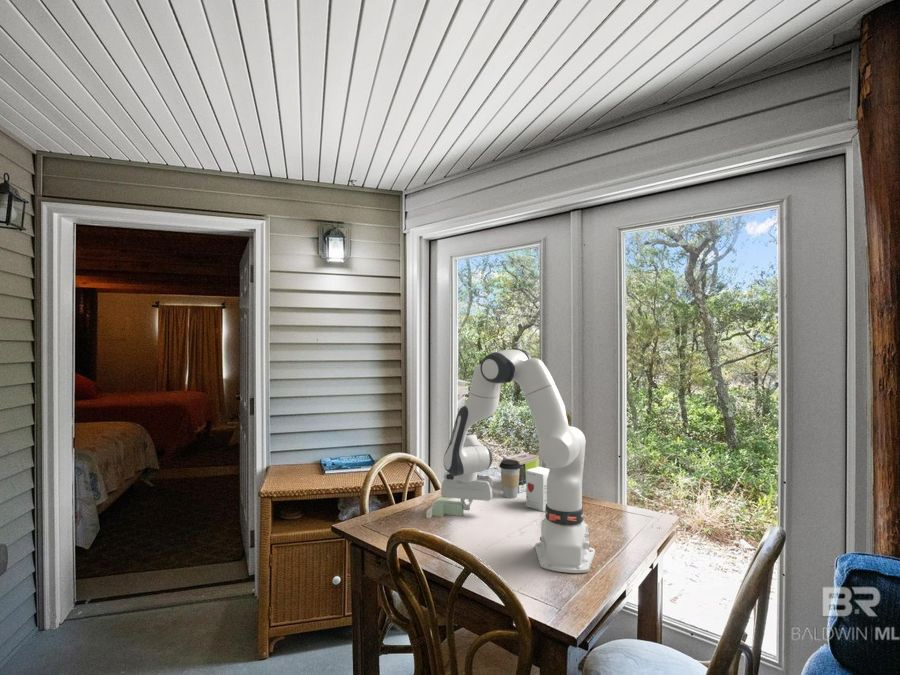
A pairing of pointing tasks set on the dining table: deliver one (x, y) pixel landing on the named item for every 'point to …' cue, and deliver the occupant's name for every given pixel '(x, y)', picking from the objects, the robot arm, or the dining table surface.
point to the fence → (429, 511)
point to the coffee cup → (510, 477)
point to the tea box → (524, 467)
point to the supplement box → (536, 488)
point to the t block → (447, 507)
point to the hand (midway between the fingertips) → (466, 509)
